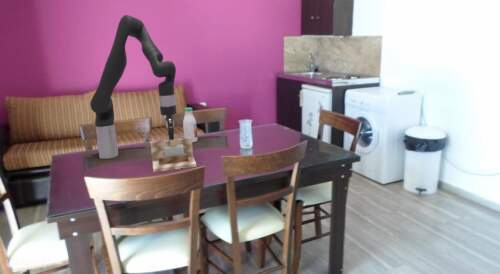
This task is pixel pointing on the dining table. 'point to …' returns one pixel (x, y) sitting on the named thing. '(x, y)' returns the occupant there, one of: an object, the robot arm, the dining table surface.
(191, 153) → the woven pattern crate
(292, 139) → the dining table surface
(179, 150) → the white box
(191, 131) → the milk bottle
